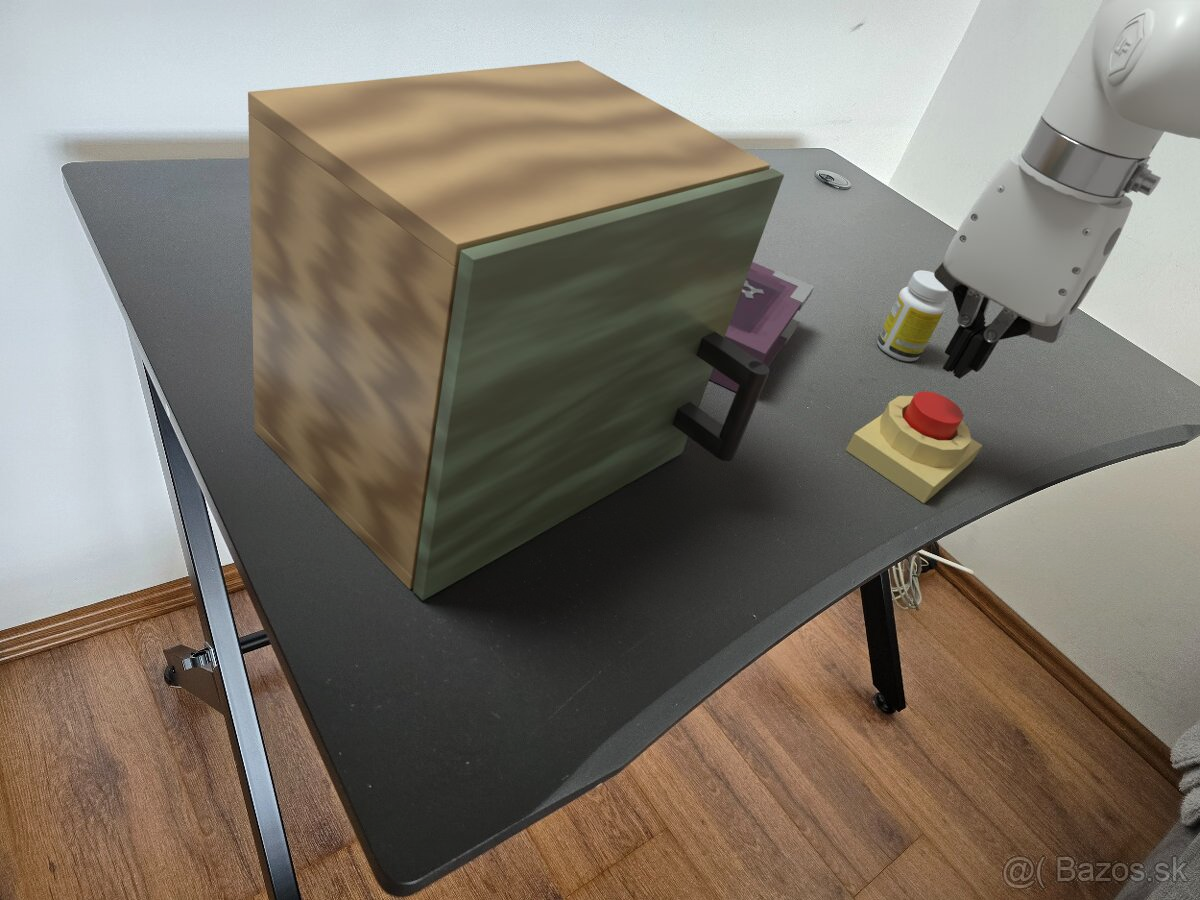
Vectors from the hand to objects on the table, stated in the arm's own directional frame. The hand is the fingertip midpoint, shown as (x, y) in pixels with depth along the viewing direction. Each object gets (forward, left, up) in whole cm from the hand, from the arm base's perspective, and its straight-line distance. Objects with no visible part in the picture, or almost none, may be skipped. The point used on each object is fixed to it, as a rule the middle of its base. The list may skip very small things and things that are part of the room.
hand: (958, 368), depth 76 cm
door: (+9, +32, -9) cm, 35 cm away
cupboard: (+22, +32, -10) cm, 40 cm away
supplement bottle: (+10, -16, -10) cm, 21 cm away
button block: (0, 0, -10) cm, 9 cm away
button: (0, 0, -6) cm, 6 cm away
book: (+28, +3, -10) cm, 30 cm away
